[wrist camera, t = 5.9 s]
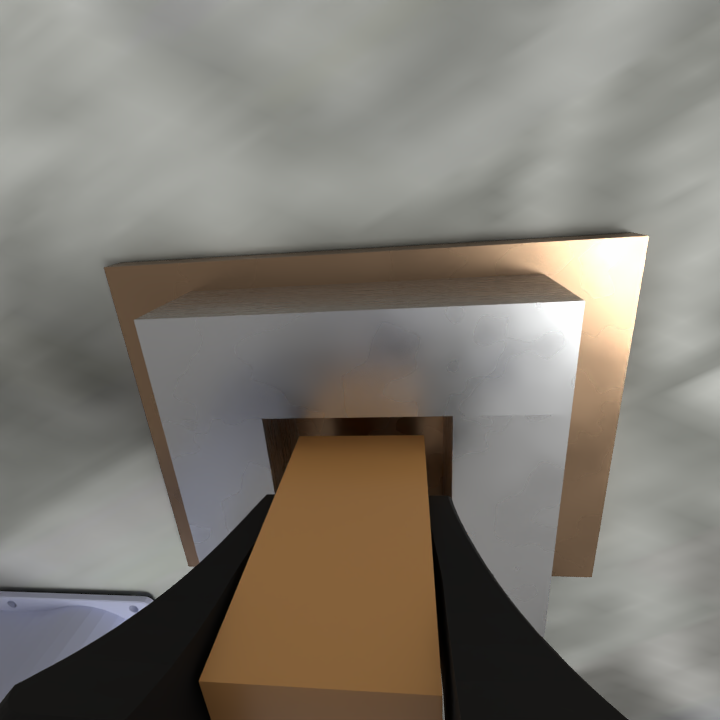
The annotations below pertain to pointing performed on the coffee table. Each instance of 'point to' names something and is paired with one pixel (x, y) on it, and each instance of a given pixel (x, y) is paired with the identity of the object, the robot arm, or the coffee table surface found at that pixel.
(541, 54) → the coffee table surface
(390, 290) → the socket
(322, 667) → the orange rectangular block
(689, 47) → the coffee table surface
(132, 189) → the coffee table surface
